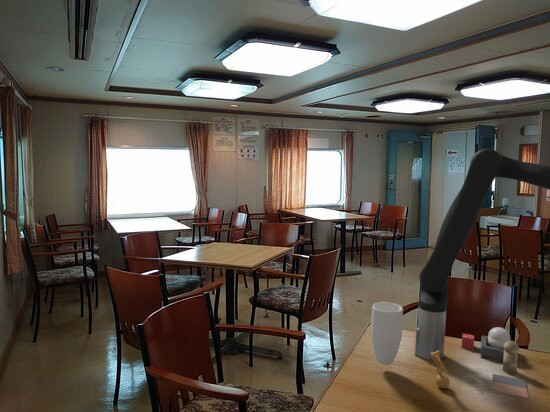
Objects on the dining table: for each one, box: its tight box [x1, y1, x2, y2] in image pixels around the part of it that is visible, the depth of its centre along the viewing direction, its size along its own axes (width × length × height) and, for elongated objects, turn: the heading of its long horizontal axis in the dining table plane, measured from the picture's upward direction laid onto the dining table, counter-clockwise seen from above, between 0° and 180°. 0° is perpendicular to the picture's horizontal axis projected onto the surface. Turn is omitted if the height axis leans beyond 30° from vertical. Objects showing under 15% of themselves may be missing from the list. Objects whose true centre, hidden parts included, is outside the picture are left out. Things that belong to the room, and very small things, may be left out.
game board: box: [492, 373, 529, 400], centre depth 128 cm, size 9×11×1 cm
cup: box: [370, 301, 404, 366], centre depth 135 cm, size 10×10×22 cm
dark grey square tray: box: [480, 335, 516, 363], centre depth 149 cm, size 11×11×4 cm
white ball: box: [487, 326, 511, 349], centre depth 149 cm, size 7×7×7 cm
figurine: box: [430, 350, 450, 389], centre depth 126 cm, size 8×6×12 cm
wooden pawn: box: [502, 340, 520, 376], centre depth 137 cm, size 4×4×10 cm
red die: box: [460, 333, 475, 351], centre depth 155 cm, size 4×4×4 cm
